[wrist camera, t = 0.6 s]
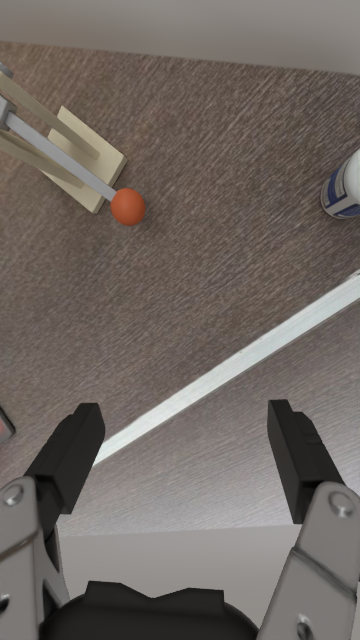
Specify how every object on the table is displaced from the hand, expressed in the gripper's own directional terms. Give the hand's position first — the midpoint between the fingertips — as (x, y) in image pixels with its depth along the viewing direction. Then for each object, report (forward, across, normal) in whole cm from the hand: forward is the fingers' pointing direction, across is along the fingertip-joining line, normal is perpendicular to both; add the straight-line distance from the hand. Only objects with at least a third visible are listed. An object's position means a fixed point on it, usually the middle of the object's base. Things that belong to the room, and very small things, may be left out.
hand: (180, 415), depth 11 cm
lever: (+19, +11, -15) cm, 26 cm away
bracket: (+28, +14, -16) cm, 35 cm away
